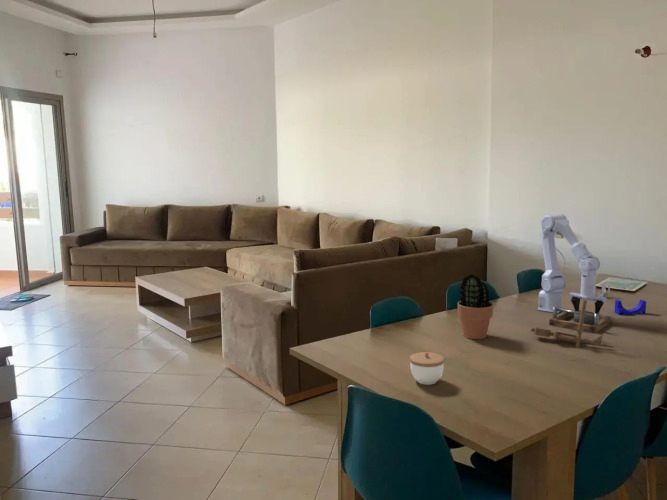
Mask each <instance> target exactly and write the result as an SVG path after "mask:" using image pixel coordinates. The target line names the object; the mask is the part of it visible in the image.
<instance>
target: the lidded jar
mask: <svg viewBox="0 0 667 500" xmlns="http://www.w3.org/2000/svg"><path fill="white" fill-rule="evenodd" d="M409 364H410V366H409V367H410V372H411V374H412V376H413V378H414V380H416V381H417V383H418V384H420V385H426V386H429V385H434V384H437V382H438V381H439V380H440V379H441V377H442V375H443V373H444V367H445V358H444V356H443V355H441V354H439V353H437V352H436V353H435V352H430V351H423V352H421V351H420V352H416V353H415V352H414V353H413V354H410V356H409Z"/></svg>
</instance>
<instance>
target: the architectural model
mask: <svg viewBox="0 0 667 500" xmlns="http://www.w3.org/2000/svg"><path fill="white" fill-rule="evenodd" d="M606 288H607V284H601V290H599V291H597V292H596V295H598V296H602V297H606V299H607V298H609V293H610V292H611V285H610V284H608V291H607V289H606Z"/></svg>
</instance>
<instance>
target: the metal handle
mask: <svg viewBox="0 0 667 500" xmlns="http://www.w3.org/2000/svg"><path fill="white" fill-rule="evenodd" d="M557 311H561V313H562V312H568V313H571V314H573V315H574V314H580V315H581V312H577V311H575V310H571V309H565V308H563V309H558V308H557V307H553V312H552V318H557V315H558V313H557ZM585 315H586V316H593V317H594V323H593V325H598V324H599V321H600V320H599V319H600V313H599V314H597V313H595V312H594V314H590V313H585Z"/></svg>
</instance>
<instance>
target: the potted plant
mask: <svg viewBox="0 0 667 500" xmlns="http://www.w3.org/2000/svg"><path fill="white" fill-rule="evenodd" d="M459 289H460V290H459V301H458V302H457V315H458V316H459V320H460V324H461V325H460V326H461V330H462V334H463V336H464V337H465V338H466V339H471V340H481V339H485V338H486V337H487V334H488V329H489V326H490V322H491V319H492V318H493V314H494V312H493V311H494V304H493V302H491V301H490V294H489V293H490V292H489V289H488V287H487V284H486V283H485V282H482V281H481V278H479V277H478V276H476V275H474V274H473V273H472V274H469V275H468V276H466V277H464V278H463V280H462V283H461V285H460V288H459Z"/></svg>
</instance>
